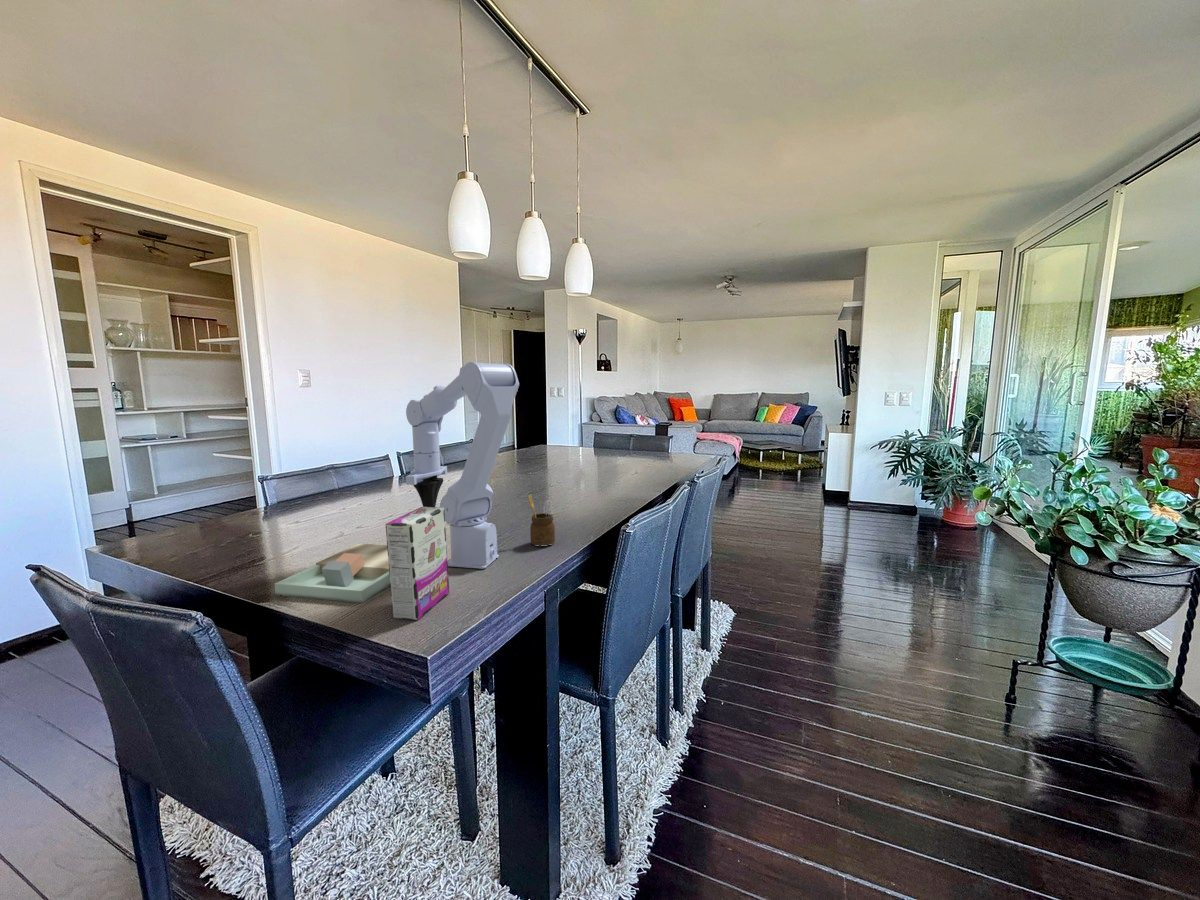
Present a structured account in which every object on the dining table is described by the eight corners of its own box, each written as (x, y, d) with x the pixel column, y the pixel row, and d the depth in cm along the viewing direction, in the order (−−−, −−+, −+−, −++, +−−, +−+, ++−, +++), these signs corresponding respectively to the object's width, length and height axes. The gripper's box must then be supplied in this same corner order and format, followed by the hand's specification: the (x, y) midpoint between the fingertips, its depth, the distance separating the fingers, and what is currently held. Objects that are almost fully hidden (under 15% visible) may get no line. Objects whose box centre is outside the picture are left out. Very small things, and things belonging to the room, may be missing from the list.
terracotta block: (364, 564, 98) (361, 554, 97) (352, 577, 95) (348, 566, 94) (347, 563, 99) (344, 552, 98) (334, 575, 96) (330, 565, 95)
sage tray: (396, 581, 97) (395, 570, 96) (362, 602, 87) (361, 591, 87) (316, 574, 100) (315, 564, 100) (275, 595, 90) (274, 583, 90)
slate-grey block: (348, 562, 93) (340, 570, 91) (354, 579, 95) (345, 587, 93) (330, 560, 94) (321, 568, 92) (336, 578, 96) (327, 586, 93)
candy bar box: (425, 591, 92) (420, 505, 90) (450, 593, 91) (446, 506, 89) (389, 619, 81) (383, 522, 79) (417, 621, 80) (412, 523, 78)
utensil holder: (550, 548, 116) (549, 498, 115) (525, 546, 118) (524, 497, 116) (558, 540, 122) (557, 493, 120) (534, 539, 123) (533, 492, 122)
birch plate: (431, 559, 109) (430, 548, 109) (396, 581, 97) (395, 569, 96) (359, 554, 113) (358, 543, 113) (316, 574, 100) (315, 563, 100)
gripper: (427, 448, 122) (430, 501, 124) (392, 455, 108) (395, 516, 109) (454, 448, 121) (456, 502, 122) (421, 456, 106) (424, 517, 108)
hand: (429, 509), depth 116 cm, fingers closed
